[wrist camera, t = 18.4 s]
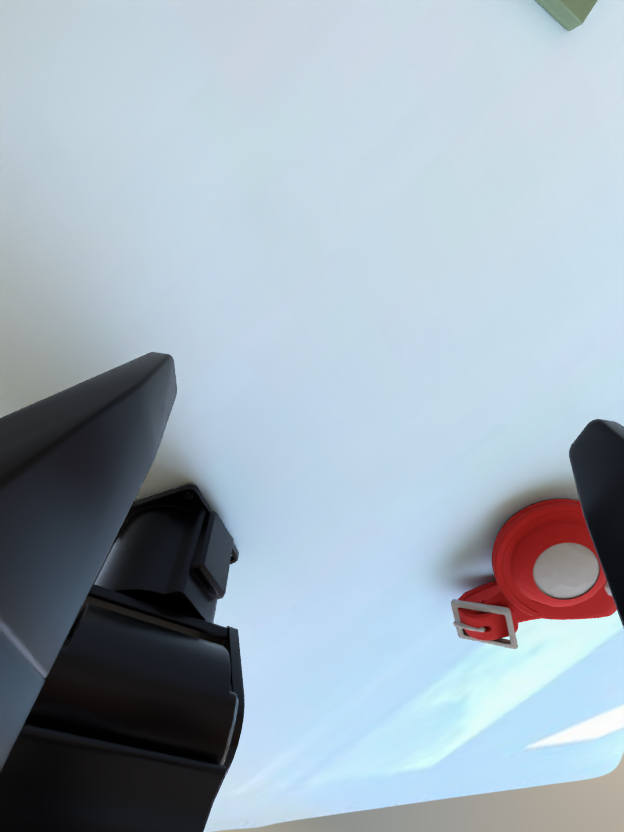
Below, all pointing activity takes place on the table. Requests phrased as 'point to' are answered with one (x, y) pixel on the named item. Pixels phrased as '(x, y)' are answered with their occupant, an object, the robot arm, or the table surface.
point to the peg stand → (568, 11)
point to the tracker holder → (536, 575)
